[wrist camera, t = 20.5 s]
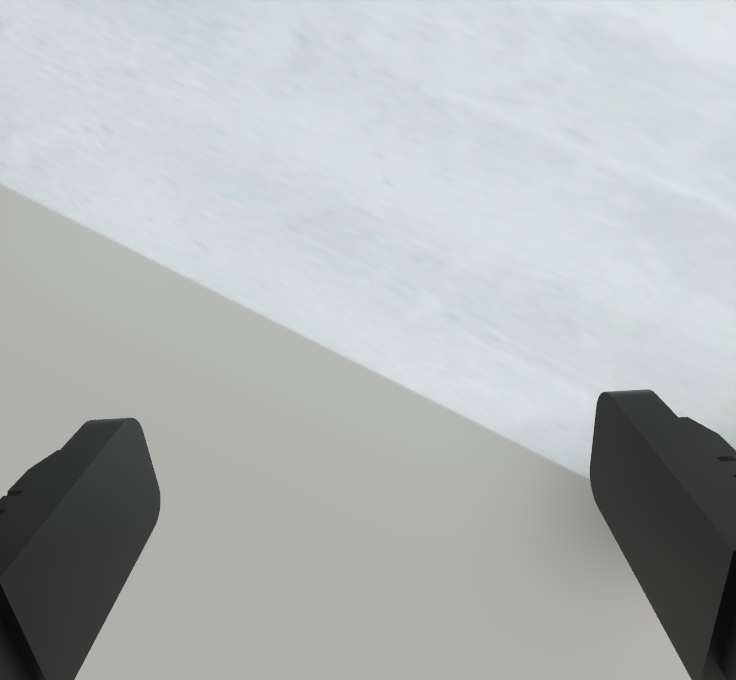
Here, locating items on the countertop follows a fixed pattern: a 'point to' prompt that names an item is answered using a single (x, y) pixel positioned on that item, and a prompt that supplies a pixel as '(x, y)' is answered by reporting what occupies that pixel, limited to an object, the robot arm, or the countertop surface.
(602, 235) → the countertop surface
